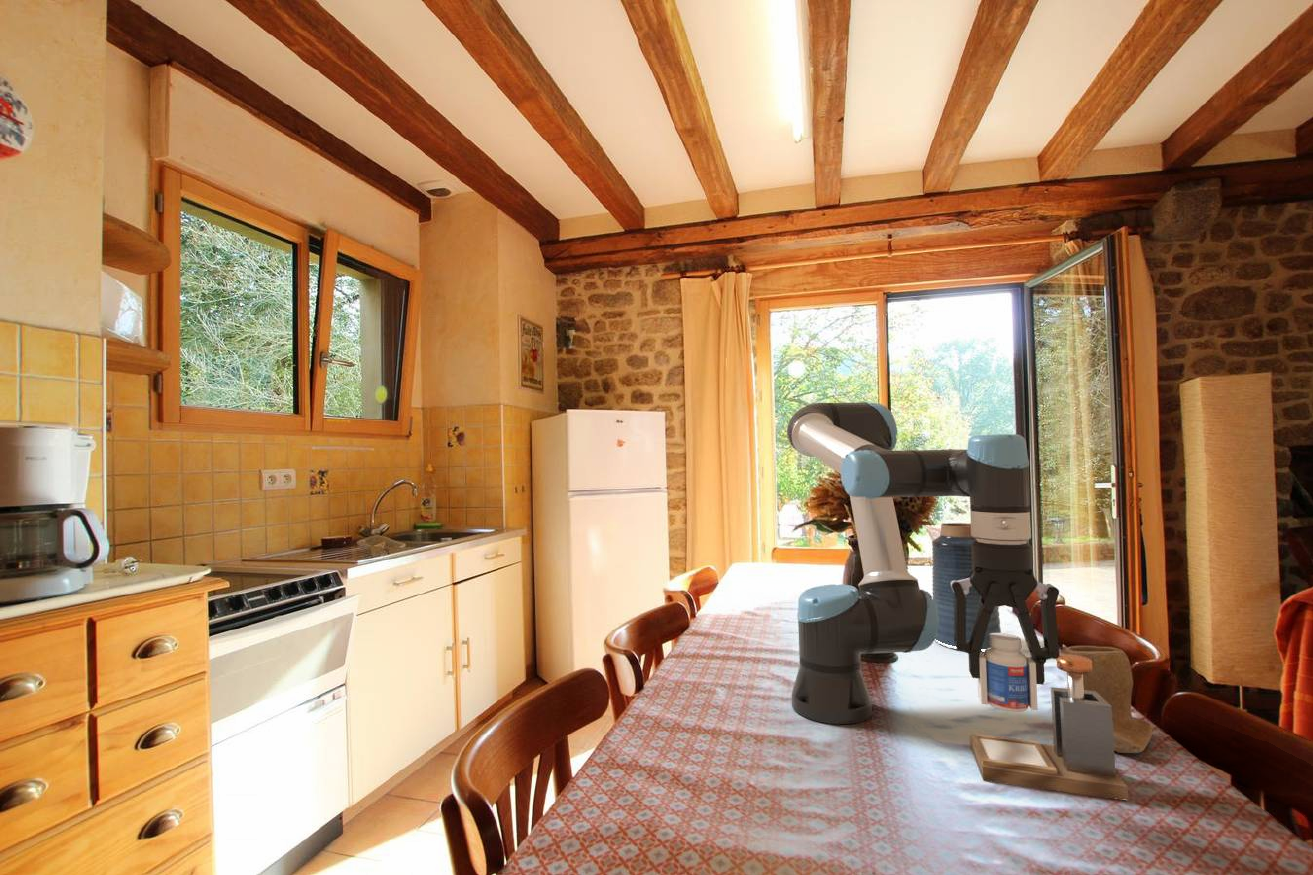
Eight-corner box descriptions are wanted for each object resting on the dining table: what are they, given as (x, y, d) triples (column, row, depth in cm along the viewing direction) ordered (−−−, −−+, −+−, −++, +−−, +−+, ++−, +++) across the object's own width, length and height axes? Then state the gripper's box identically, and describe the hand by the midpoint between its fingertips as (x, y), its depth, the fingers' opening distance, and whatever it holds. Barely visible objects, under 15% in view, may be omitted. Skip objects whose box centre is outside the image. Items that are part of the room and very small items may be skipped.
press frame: (1066, 770, 86) (1063, 701, 86) (1054, 751, 91) (1050, 687, 92) (1115, 776, 84) (1111, 706, 84) (1099, 757, 89) (1095, 691, 90)
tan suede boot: (1077, 713, 110) (1072, 633, 111) (1159, 733, 101) (1153, 646, 102) (1054, 739, 100) (1049, 650, 101) (1143, 764, 91) (1137, 667, 92)
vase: (1015, 653, 146) (1009, 527, 148) (950, 653, 146) (945, 528, 148) (980, 634, 162) (975, 521, 164) (922, 635, 162) (917, 522, 164)
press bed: (983, 780, 87) (982, 762, 87) (970, 747, 97) (969, 731, 98) (1128, 801, 81) (1127, 782, 81) (1098, 763, 91) (1097, 746, 92)
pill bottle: (1014, 716, 79) (1011, 644, 80) (977, 702, 84) (974, 634, 85) (1037, 707, 82) (1034, 638, 82) (1000, 694, 87) (997, 628, 87)
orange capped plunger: (1066, 740, 87) (1061, 661, 87) (1056, 728, 91) (1052, 652, 91) (1101, 744, 85) (1096, 664, 86) (1090, 731, 89) (1085, 655, 90)
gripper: (933, 542, 84) (939, 705, 83) (1085, 546, 77) (1093, 723, 76) (928, 535, 91) (933, 686, 90) (1066, 539, 84) (1074, 700, 83)
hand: (1006, 702), depth 83 cm, fingers closed on pill bottle, 5 cm apart
